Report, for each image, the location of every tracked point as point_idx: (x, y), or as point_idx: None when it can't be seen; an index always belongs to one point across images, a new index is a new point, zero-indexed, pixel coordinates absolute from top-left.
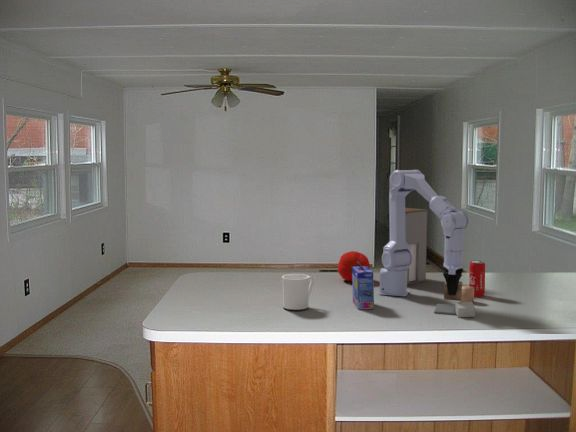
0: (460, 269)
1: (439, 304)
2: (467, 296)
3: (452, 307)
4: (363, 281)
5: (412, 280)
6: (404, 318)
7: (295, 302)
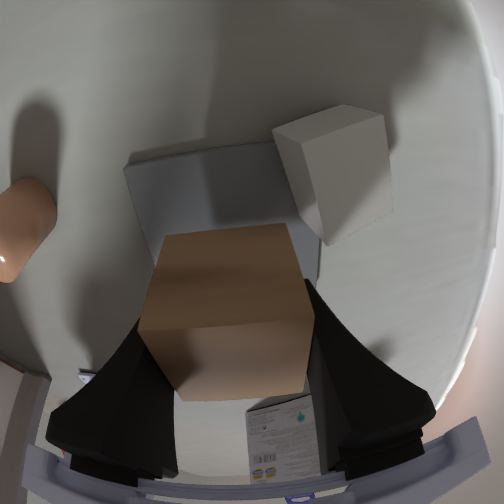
0: (116, 460)
1: None
2: (33, 217)
3: None
4: None
5: (7, 366)
6: (392, 331)
7: None
